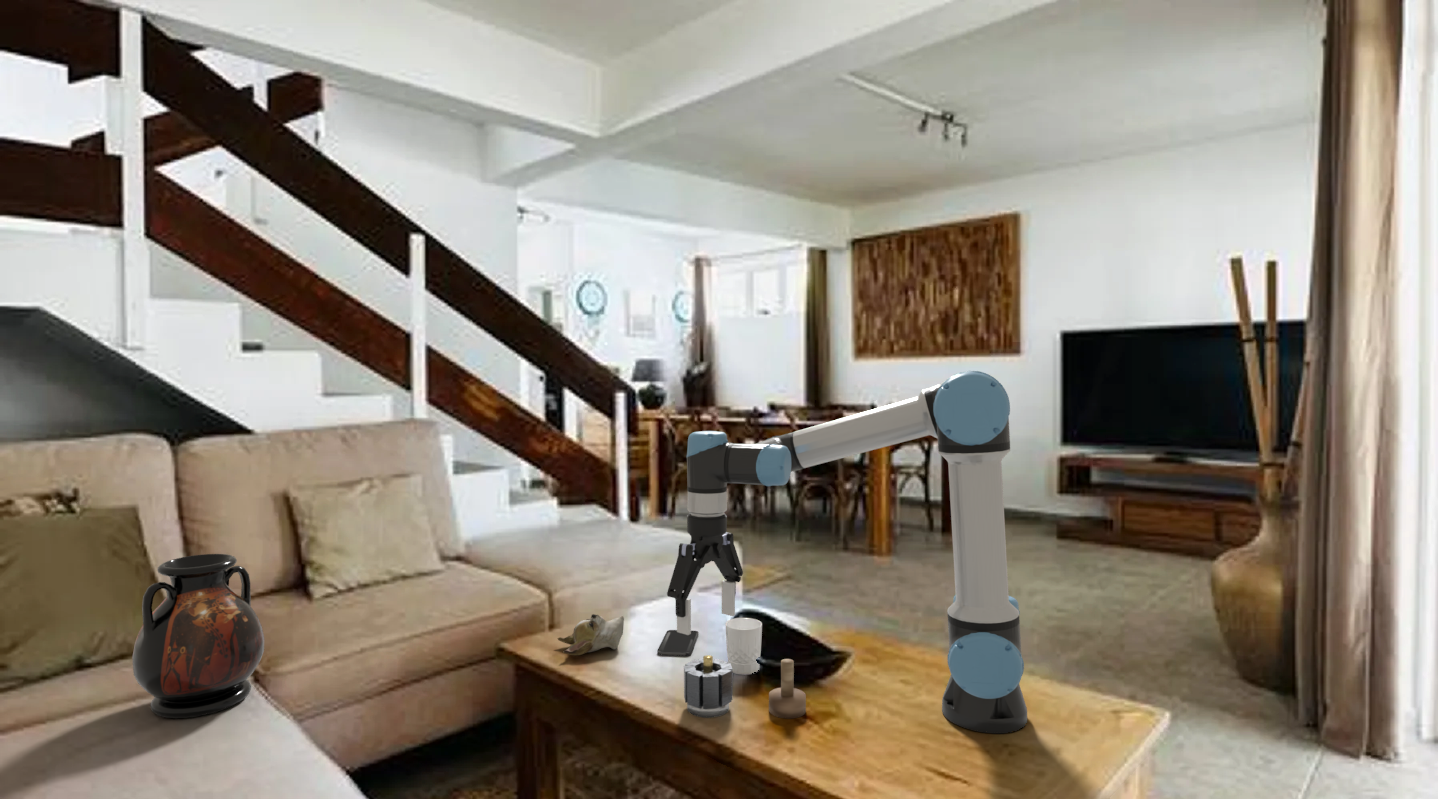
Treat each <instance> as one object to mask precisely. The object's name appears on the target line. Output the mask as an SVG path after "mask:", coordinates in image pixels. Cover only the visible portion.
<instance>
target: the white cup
mask: <svg viewBox="0 0 1438 799" xmlns="http://www.w3.org/2000/svg"><path fill="white" fill-rule="evenodd" d="M762 632H763V622H762V621H760V620H758V619H756V618H752V617H735V618H731V619H729V620H727V621H726V622H725V639H726V640H725V641H726V656H727V662H728V663H730V664H731V666H732V674H735V675H741V676H742V675H743V676H744V675H745V676H747V675H752V673H753V674H755V673H754V672H756V673H758V672H759V671H760V664H758V663H757V661H756V659H757V658H758V657H760V658H761V651H762V636H763V635H762V634H763V633H762ZM758 670H759V671H758Z"/></svg>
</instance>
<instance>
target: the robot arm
mask: <svg viewBox="0 0 1438 799" xmlns="http://www.w3.org/2000/svg"><path fill="white" fill-rule="evenodd" d="M1010 403H1011V402H1010V399H1009V394H1008V393H1007V390H1006V389H1005V387H1004V386H1003V385H1002V384H1001V382H999V380H998V379H996V378H995V377H994V376H992V375H991V374H988V373H986V372H983V371H978V370H968V371H967V370H966V371H963V372H958V373H955V374H953V375H951V376H950V377H948V378H947V379H946V380H945V381H942V383H938V384H935V385H934V386H930V387H926V388H923V389H922V390H921V391H920V393H919V394H918V395H917V396H915V397H911V398H907V399H904V400H901V401H898V402H893V403H890V404H887V405H883V406H879V407H876V408H873V409H868V410H866V411H862V412H859V413H855V414H852V415H847V416H844V417H841V418H837V419H835V420H830V421H827V422H824V423H819V424H815V425H814V426H813V425H812V426H810V427H806V428H803V429H799V430H796V431H793V432H789V433H785V434H782V435H774V436H772V437H769V438H767V439H765V440H762V441H759V442H757V443H735V442H734V443H733V442H729V440H728V435H727V434H726V432H724V431H717V430H702V431H694V432H691V433H690V434H689V435H688V437H687V438H688V439H687V447H686V448H687V450H686V473H687V474H686V478H687V480H686V482H687V486H686V487H687V488H686V490H687V506H686V507H687V511H688V512H689V513H688V514H687V515H686V526H687V527H686V532H687V534H689V536H690V537H691V538H690V542H689V543H679V544H678V554H677V559H676V562H675V566H674V569H673V571H672V574H671V579H670V582H669V586H668V589H667V592H666V595H667V597H669V598H673V599H675V616H676V630H677V632H679V633H682V634H686V635H690V634H691V631H692V625H691V624H692V622H691V621H692V620H691V619H692V614H691V613H692V604H691V603H692V598H689V595H690V594H691V591H692V589H693V588H694V587H693V586H694V584H695V582H696V580H697V578H698V577H699V576H698V575H699V574H700V572H701V569H703V568H704V567H705V566H706V565H707V564H710V563H711V562H713V563H714V565H716V567H717V569H718V571H719V572H720V574H721V575H722V577H723V578H724V580H721V614H723V615H726V616H730V617H735V615H736V590H737V589H736V586H737V583H740V582H741V580H742V579H741V578H742V576H743V574H744V571H743V568H742V565H741V562H740V558H739V555H738V553H737V549H736V545H735V542H734V534H733V533H732V532H727V530H728V529H727V527H728V526H727V524H728V523H727V522H728V516H727V514H726V513H725V512H727V511H728V490H727V489H728V484H742V485H755V486H756V485H757V486H766V487H771V486H785V485H786V484H787V483H788V482H789V479H790V477H791V473H793V472H797V471H799V470H803V469H806V468H810V467H815V466H817V465H821V464H825V463H828V462H833V461H836V460H840V459H843V458H849V457H852V456H856V455H859V454H863V453H867V452H871V451H873V450H874V451H875V450H878V449H883V448H886V447H890V446H893V445H898V444H900V443H904V442H909V441H912V440H916V439H917V440H918V439H920V438H924V437H927V436H932V437H933V438H936V439H937V448H938V449H937V450H938V451H937V452H938V454H939V455H940V456H941V457H943V458H944V459H945V460H946V462H947V465H948V482H949V485H948V486H949V501H950V516H951V517H950V520H951V535H952V536H951V537H952V552H953V553H952V555H953V570H954V571H953V572H954V586H955V587H954V590H955V591H954V592H955V595H954V596H953V599H952V601H953V602H952V603H951V604H950V606H948V608H947V628H948V629H947V630H948V631H947V632H948V654H947V667H948V669H949V672H950V677H949V679H948V681H947V685H946V687H945V690H944V693H943V695H942V699H941V700H942V701H941V711H942V715H943V716H944V717H945V718H946V719H947V720H948V721H949V722H951V723H952V724H955V725H957V726H959V727H961V728H963V729H967V730H970V731H973V732H980V733H987V734H1009V733H1008V732H1010V733H1013V732H1012V731H1015V732H1017V730H1018V731H1020V730H1021V729H1020V728H1022V727H1023V728H1025V727H1026V725H1027V724H1028V707H1027V705H1026V701H1025V698H1024V694H1023V691H1022V689H1021V685H1020V682H1021V680H1022V676H1023V675H1024V669H1025V663H1024V658H1023V657H1022V640H1021V621H1020V615H1021V612H1020V606H1019V605H1020V604H1019V602H1018V600H1017V599H1016V598H1015V597H1013V596H1011V595H1009V577H1008V575H1009V574H1008V562H1007V541H1006V539H1007V538H1006V524H1005V522H1006V521H1005V504H1004V503H1005V502H1004V486H1003V484H1004V483H1003V469H1002V468H1003V467H1002V466H1003V465H1002V461H1003V459H1004V458H1005V457H1006V456H1007V455H1008V454H1009V452H1011V436H1010V435H1011V434H1010V420H1009V418H1010V417H1009V416H1010V413H1011V404H1010ZM1026 723H1027V724H1026ZM1025 724H1026V725H1025ZM1024 726H1025V727H1024ZM1023 728H1022V729H1023ZM1019 729H1020V730H1019Z"/></svg>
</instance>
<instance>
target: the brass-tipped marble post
mask: <svg viewBox="0 0 1438 799" xmlns="http://www.w3.org/2000/svg"><path fill="white" fill-rule="evenodd" d="M713 657H714V656H712V655H710V654H709V655H708V654H707V655H703V657H702V659H703V670H702V671H701V672H703V673H708V672H716V671H714V670H713V660H714V658H713ZM686 705H687V706H686V709H687V712H688V713H689V714H691V715H693V716H695V717H698V718H704V719H705V718H707V719H709V718H710V719H711V718H718V717H720V716H721V717H722V716H724V715H726V714H727V713H728V712H729V710H730V703H728V704H727V705H725V706H723V707H721V706H719V708H708V709H703V707H701V708H697V707H694V706H691V705H688V704H687V703H686Z"/></svg>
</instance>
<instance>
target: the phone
mask: <svg viewBox="0 0 1438 799" xmlns="http://www.w3.org/2000/svg"><path fill="white" fill-rule="evenodd" d="M698 638H699V631H697V630H691V634H690V635H686V634H682V633H679V632H677V629H669V630H667V631H665V635H664V636H663V638H662V640H661V642H660V644H659V646H658V648H657V655H658V656H662V657H663V656H667V657H668V656H669V657H690V656H692V654H693V652H694V649H695V646H696V643H697V640H698Z"/></svg>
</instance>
